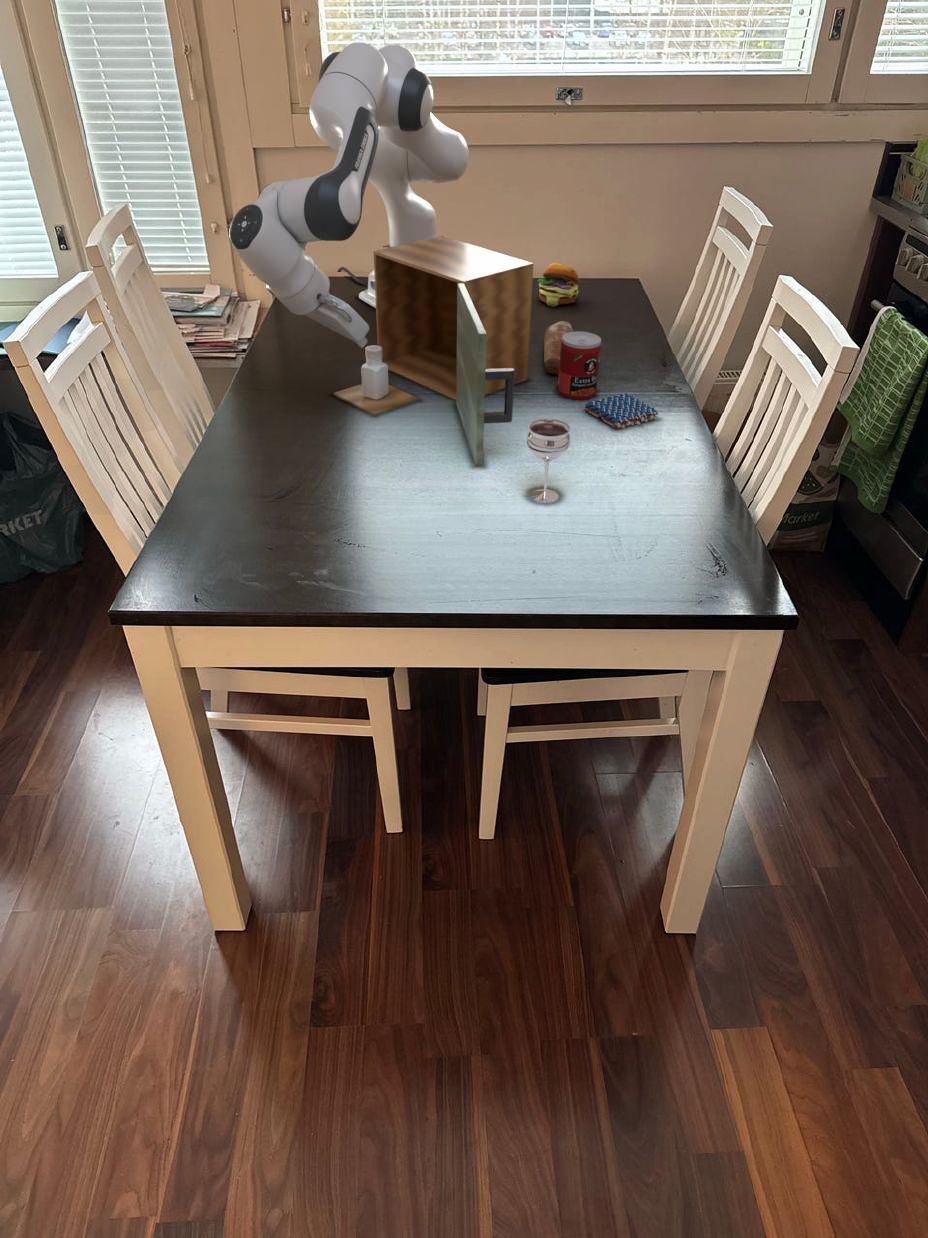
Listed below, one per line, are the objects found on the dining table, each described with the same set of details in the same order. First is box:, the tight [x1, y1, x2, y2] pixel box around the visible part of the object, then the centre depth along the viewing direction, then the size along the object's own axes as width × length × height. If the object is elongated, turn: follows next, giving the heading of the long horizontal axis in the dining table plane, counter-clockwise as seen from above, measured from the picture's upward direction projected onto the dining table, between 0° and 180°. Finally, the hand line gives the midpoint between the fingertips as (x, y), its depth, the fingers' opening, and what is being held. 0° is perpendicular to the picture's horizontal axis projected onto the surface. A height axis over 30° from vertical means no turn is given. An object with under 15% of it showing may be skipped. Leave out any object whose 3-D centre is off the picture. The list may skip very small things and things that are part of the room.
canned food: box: [557, 330, 602, 401], centre depth 180 cm, size 8×8×11 cm
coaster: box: [333, 383, 420, 417], centre depth 180 cm, size 13×11×1 cm
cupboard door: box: [455, 283, 515, 467], centre depth 161 cm, size 6×26×23 cm, turn 8°
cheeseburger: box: [537, 262, 581, 308], centre depth 228 cm, size 10×11×10 cm
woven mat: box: [584, 392, 659, 429], centre depth 174 cm, size 10×11×2 cm
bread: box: [543, 320, 575, 375], centre depth 196 cm, size 6×19×6 cm, turn 170°
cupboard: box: [372, 235, 534, 401], centre depth 184 cm, size 18×26×23 cm
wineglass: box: [526, 418, 572, 504], centre depth 146 cm, size 7×7×12 cm
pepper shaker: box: [360, 344, 390, 400], centre depth 177 cm, size 4×4×10 cm
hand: (347, 335), depth 169 cm, fingers open, 8 cm apart
